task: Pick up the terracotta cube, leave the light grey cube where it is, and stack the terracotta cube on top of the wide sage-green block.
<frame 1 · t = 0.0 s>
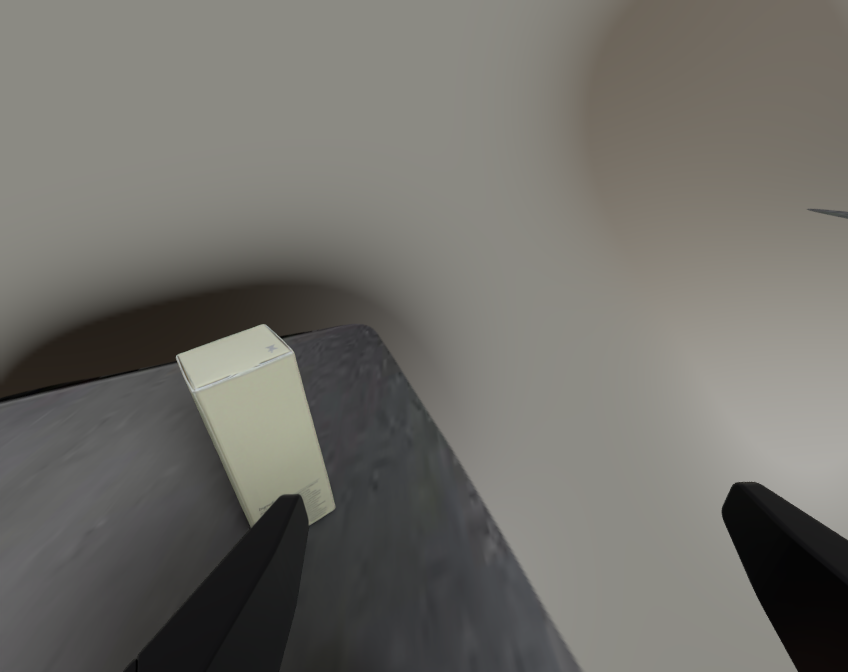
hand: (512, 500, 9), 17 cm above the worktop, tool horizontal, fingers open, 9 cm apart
box: (288, 513, 29), on the worktop
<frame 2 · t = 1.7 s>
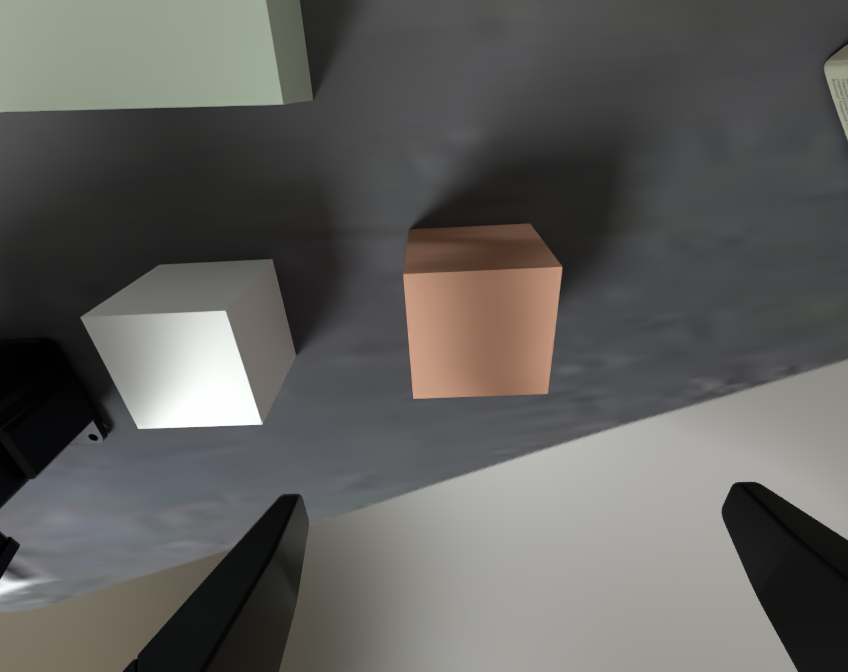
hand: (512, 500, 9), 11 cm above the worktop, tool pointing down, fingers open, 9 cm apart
grey cube: (232, 312, 20), on the worktop
terracotta cube: (469, 281, 19), on the worktop
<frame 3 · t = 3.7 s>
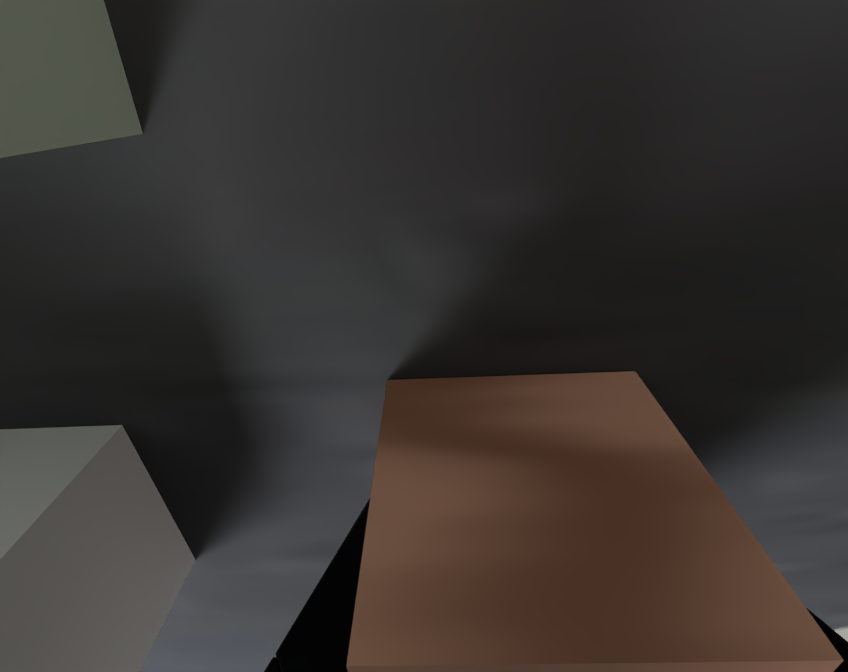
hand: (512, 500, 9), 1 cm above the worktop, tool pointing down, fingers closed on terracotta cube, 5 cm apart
grey cube: (69, 500, 11), on the worktop
terracotta cube: (504, 463, 10), on the worktop, touching gripper
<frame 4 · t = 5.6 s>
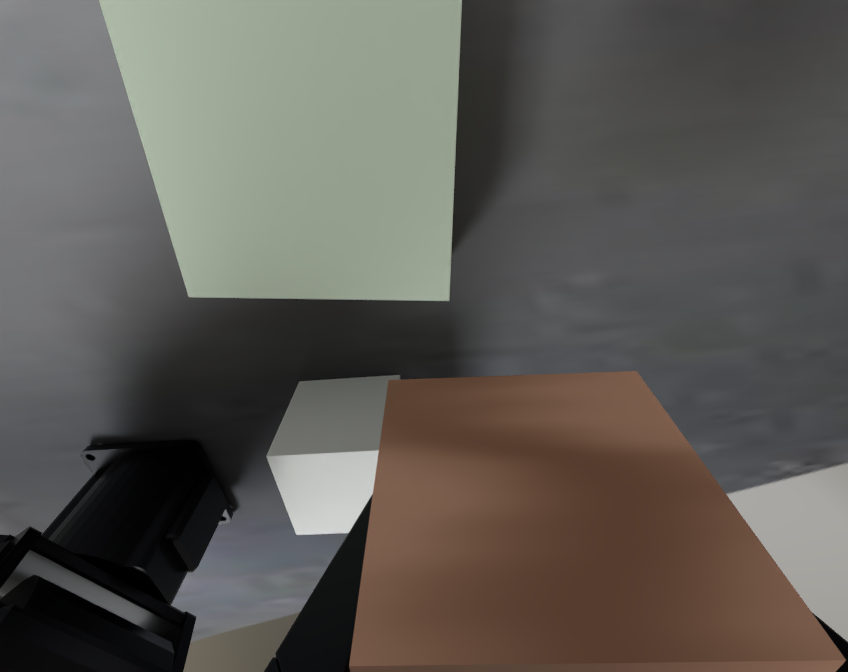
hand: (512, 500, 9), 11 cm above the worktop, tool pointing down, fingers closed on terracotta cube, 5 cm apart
sage base block: (328, 142, 16), on the worktop
grey cube: (357, 415, 22), on the worktop
terracotta cube: (505, 463, 10), point 10 cm above the worktop, touching gripper
when the fingers open (6 cm above the worktop, at t = 7.7 s): terracotta cube drops 2 cm, resting on sage base block.
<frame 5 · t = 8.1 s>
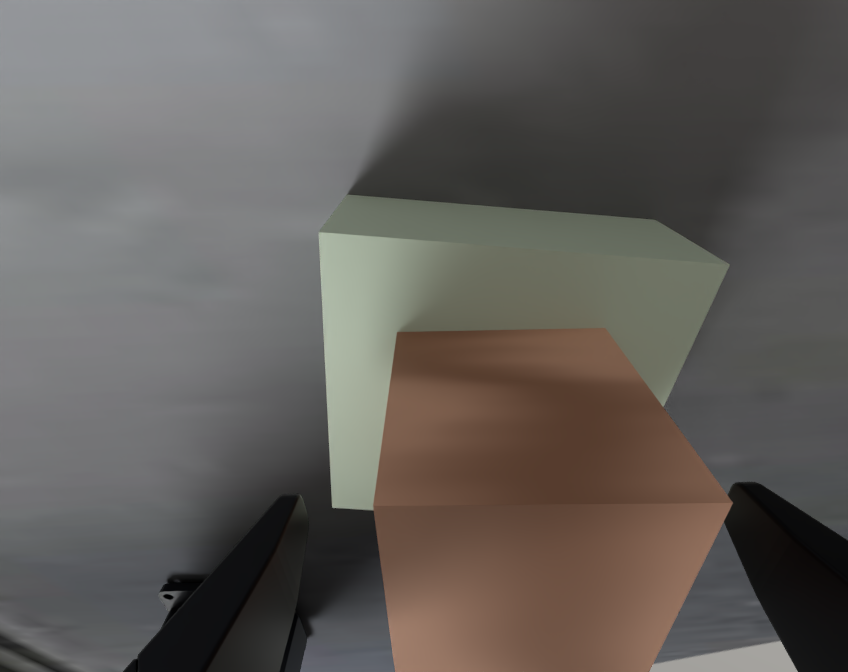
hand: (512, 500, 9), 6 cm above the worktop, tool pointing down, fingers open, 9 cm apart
sage base block: (479, 334, 15), on the worktop, touching terracotta cube
terracotta cube: (494, 410, 12), point 4 cm above the worktop, touching sage base block
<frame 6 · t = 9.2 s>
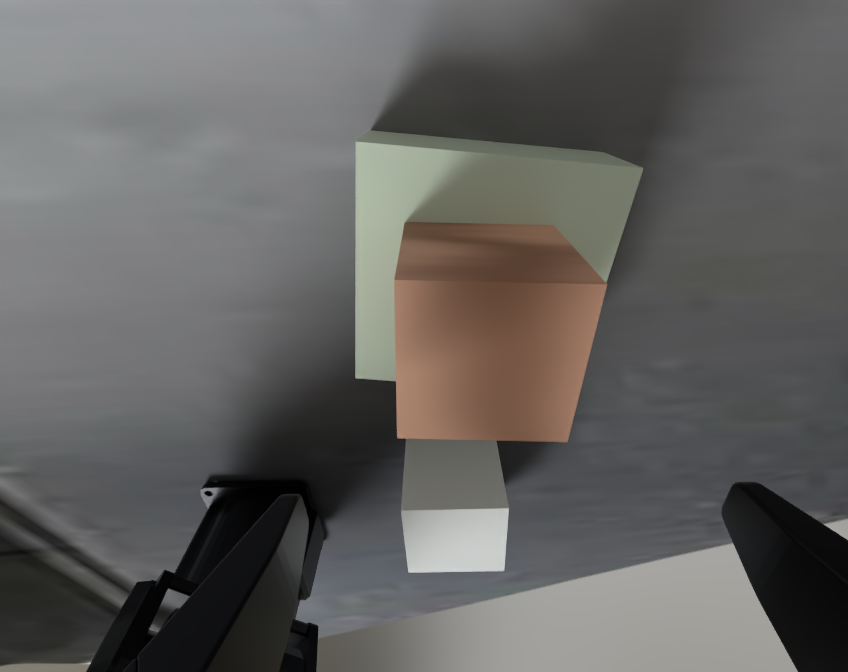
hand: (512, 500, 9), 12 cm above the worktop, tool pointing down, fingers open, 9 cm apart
sage base block: (470, 250, 19), on the worktop, touching terracotta cube
grey cube: (451, 464, 25), on the worktop
terracotta cube: (473, 291, 16), point 4 cm above the worktop, touching sage base block
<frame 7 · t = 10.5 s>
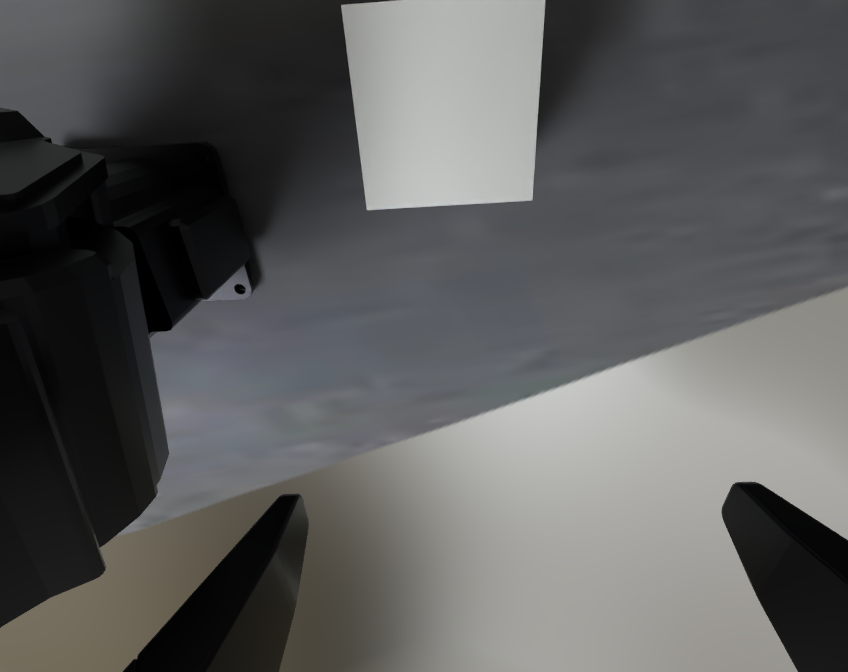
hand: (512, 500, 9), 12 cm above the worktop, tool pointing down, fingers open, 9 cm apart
grey cube: (441, 105, 16), on the worktop
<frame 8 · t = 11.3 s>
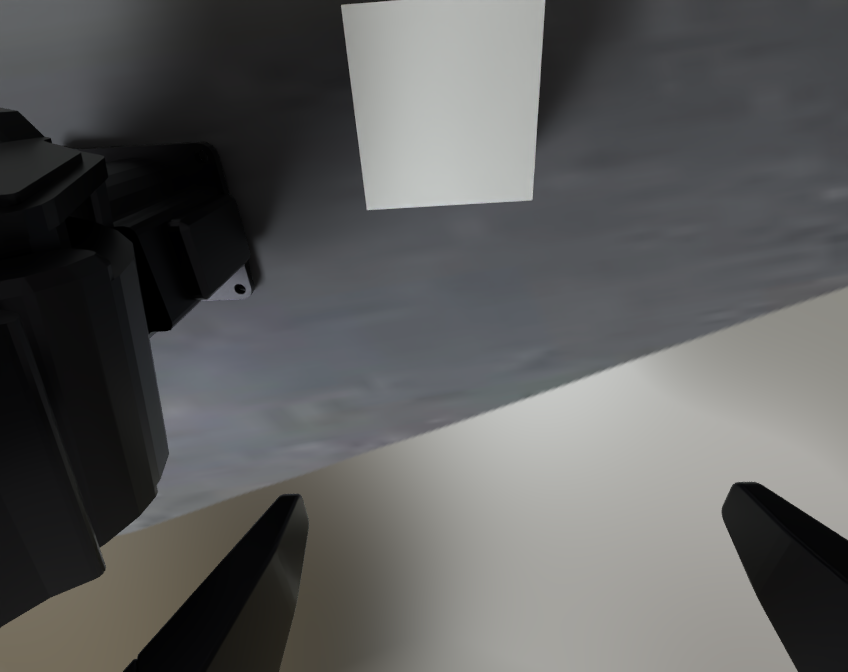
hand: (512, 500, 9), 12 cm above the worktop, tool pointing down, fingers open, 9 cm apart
grey cube: (441, 105, 16), on the worktop
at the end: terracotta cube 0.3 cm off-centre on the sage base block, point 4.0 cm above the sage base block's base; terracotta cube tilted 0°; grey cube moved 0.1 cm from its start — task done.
